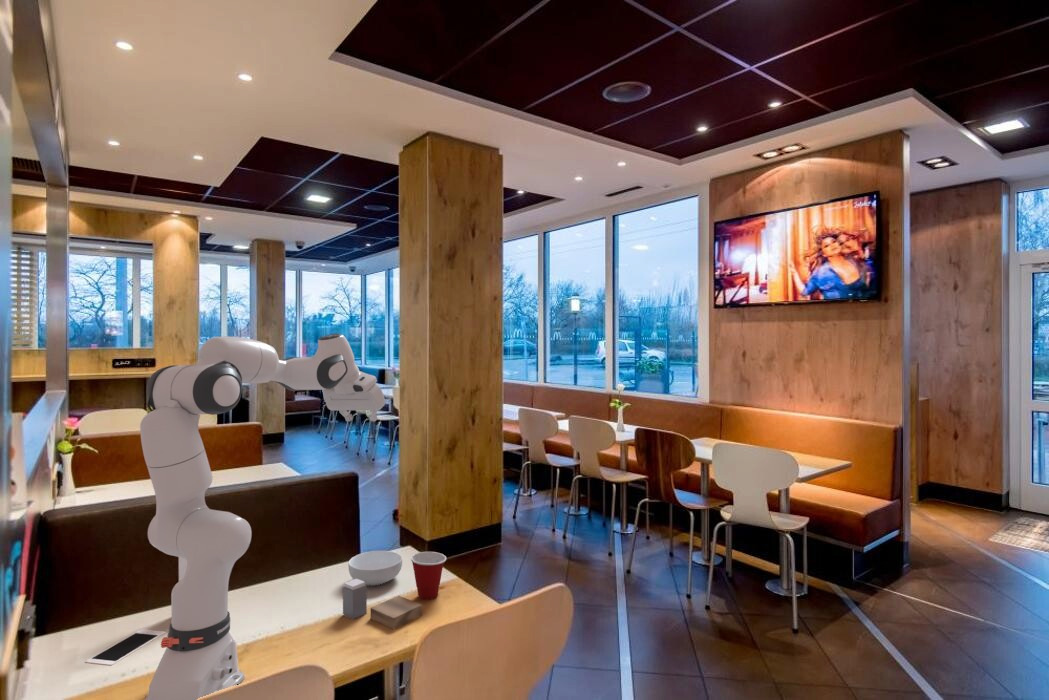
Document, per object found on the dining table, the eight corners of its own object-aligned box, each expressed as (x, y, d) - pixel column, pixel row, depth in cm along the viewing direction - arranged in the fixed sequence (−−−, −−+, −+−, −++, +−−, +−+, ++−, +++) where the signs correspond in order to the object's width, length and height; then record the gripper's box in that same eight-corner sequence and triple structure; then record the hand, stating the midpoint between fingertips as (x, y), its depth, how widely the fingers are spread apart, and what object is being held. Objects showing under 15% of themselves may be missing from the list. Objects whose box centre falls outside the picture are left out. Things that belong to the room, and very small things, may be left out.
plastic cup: (450, 599, 169) (450, 559, 169) (414, 606, 165) (414, 565, 165) (442, 585, 179) (441, 548, 179) (407, 591, 175) (407, 552, 175)
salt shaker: (352, 619, 157) (352, 587, 157) (343, 615, 160) (342, 583, 160) (366, 613, 161) (366, 581, 161) (356, 609, 164) (356, 577, 164)
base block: (393, 629, 151) (393, 618, 151) (370, 618, 158) (370, 607, 158) (422, 615, 159) (422, 604, 159) (398, 605, 165) (398, 595, 165)
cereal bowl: (363, 597, 172) (363, 573, 172) (339, 580, 184) (339, 559, 184) (412, 581, 183) (412, 559, 183) (386, 567, 195) (386, 546, 195)
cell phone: (166, 633, 151) (166, 631, 151) (111, 667, 135) (111, 664, 135) (140, 631, 152) (140, 629, 152) (84, 664, 136) (84, 661, 136)
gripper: (314, 388, 175) (329, 425, 180) (369, 386, 167) (383, 426, 173) (326, 378, 180) (341, 414, 186) (380, 376, 173) (393, 414, 178)
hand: (361, 420), depth 179 cm, fingers open, 8 cm apart
